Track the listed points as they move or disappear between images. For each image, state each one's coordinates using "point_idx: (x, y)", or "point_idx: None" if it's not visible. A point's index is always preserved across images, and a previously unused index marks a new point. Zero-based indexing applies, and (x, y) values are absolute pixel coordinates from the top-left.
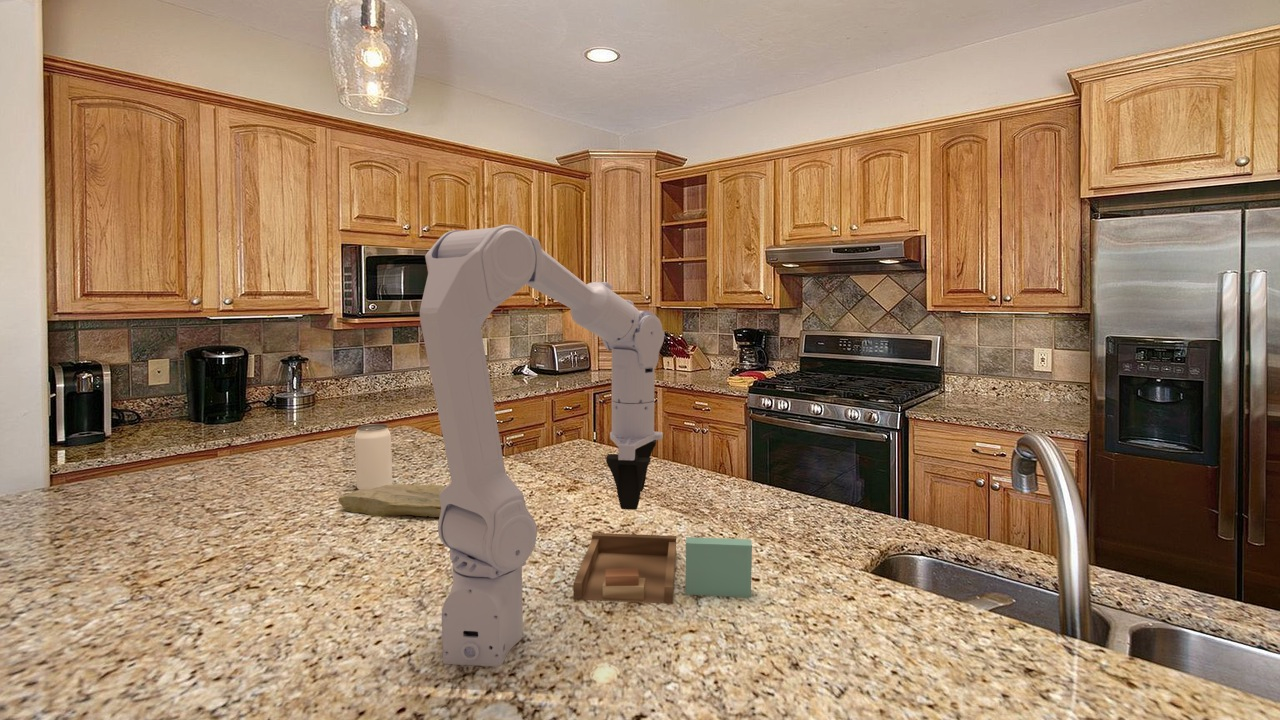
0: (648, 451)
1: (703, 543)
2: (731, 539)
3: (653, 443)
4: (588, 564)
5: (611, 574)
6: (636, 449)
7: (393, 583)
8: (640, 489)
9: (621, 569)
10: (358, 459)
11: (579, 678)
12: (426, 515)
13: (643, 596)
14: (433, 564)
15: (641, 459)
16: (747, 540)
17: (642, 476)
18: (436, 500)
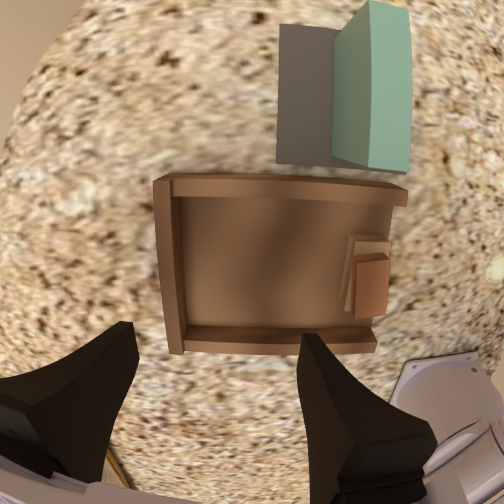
0: (61, 406)
1: (409, 124)
2: (376, 44)
3: (32, 417)
4: None
5: (379, 306)
6: (76, 445)
7: (290, 475)
8: (345, 369)
9: (360, 292)
10: None
11: (499, 291)
12: (125, 478)
13: (384, 237)
14: (242, 466)
15: (392, 465)
16: (377, 8)
17: (386, 402)
18: (104, 480)
